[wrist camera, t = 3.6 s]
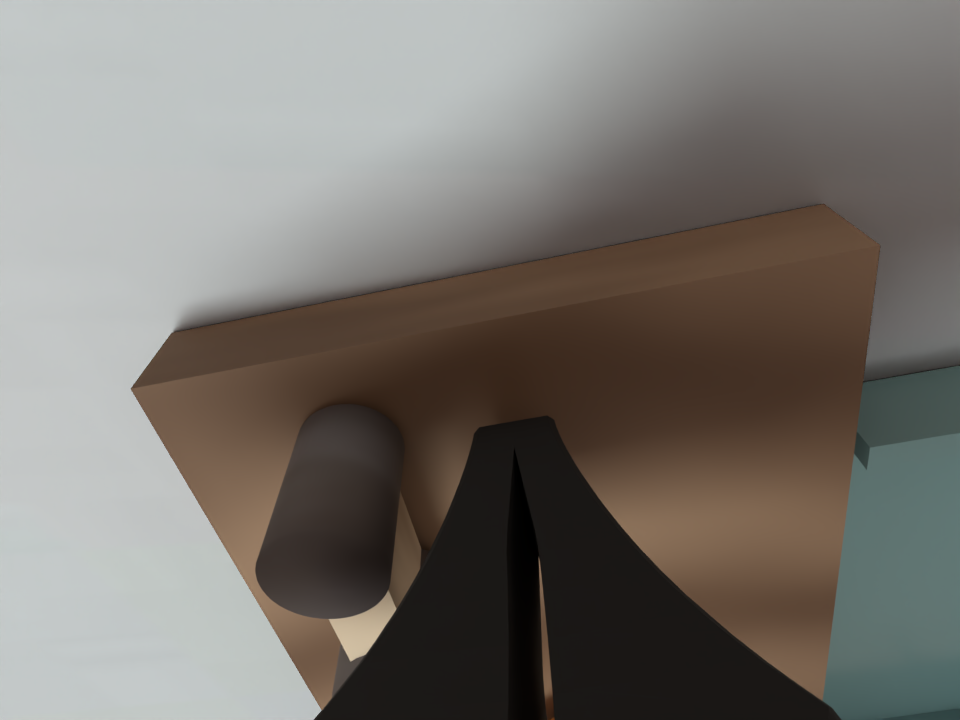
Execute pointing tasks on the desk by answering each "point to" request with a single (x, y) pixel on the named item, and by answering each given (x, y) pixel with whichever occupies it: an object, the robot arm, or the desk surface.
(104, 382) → the desk surface
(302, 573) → the lever
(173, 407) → the board
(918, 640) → the teal shallow crate
